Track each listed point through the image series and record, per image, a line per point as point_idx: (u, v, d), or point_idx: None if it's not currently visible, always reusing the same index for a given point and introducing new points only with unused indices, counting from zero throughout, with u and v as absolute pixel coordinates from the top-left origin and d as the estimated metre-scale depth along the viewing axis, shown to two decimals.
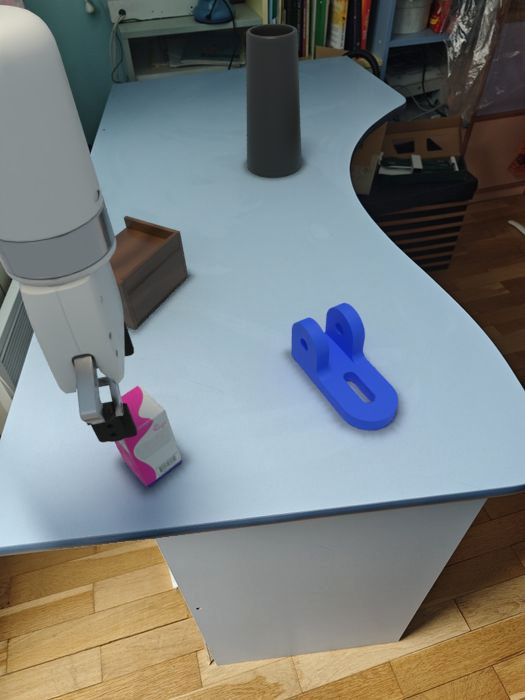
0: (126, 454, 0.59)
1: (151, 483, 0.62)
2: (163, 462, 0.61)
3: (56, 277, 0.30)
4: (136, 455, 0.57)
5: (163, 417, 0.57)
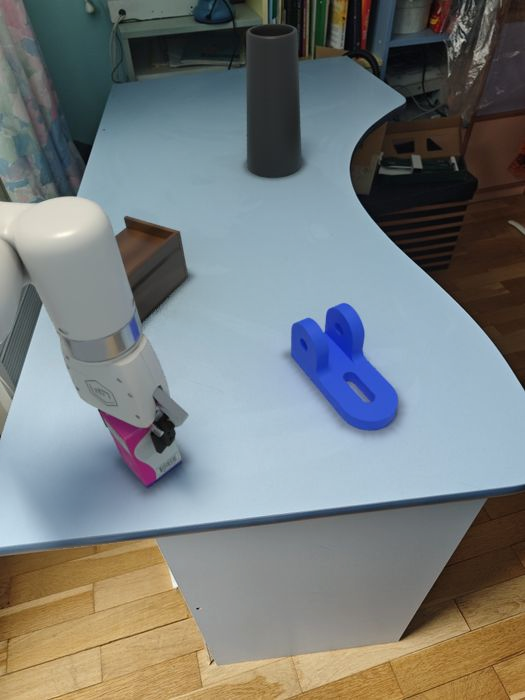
0: (126, 454, 0.59)
1: (151, 483, 0.62)
2: (163, 462, 0.61)
3: (134, 344, 0.46)
4: (137, 456, 0.57)
5: None
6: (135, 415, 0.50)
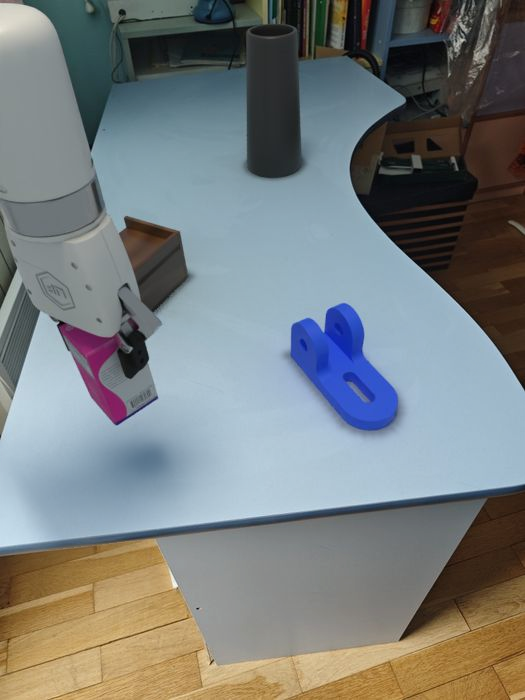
0: (91, 382, 0.50)
1: (121, 420, 0.53)
2: (135, 395, 0.52)
3: (93, 220, 0.37)
4: (102, 380, 0.48)
5: None
6: (96, 318, 0.41)
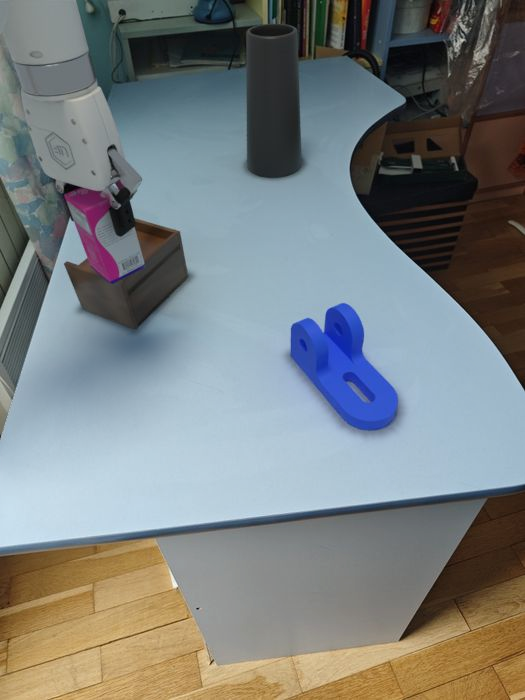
0: (89, 242, 0.62)
1: (114, 280, 0.66)
2: (126, 259, 0.65)
3: (87, 87, 0.50)
4: (98, 237, 0.60)
5: None
6: (91, 171, 0.54)
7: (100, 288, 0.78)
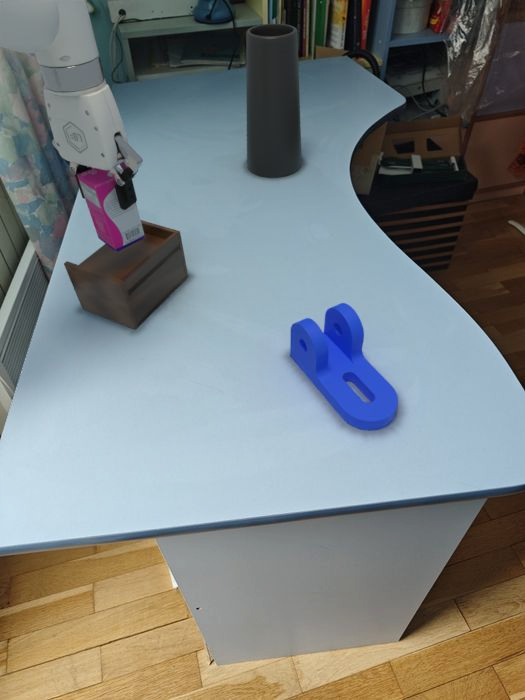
0: (98, 215, 0.75)
1: (119, 248, 0.78)
2: (129, 229, 0.77)
3: (98, 84, 0.62)
4: (105, 210, 0.73)
5: None
6: (101, 154, 0.66)
7: (100, 288, 0.78)
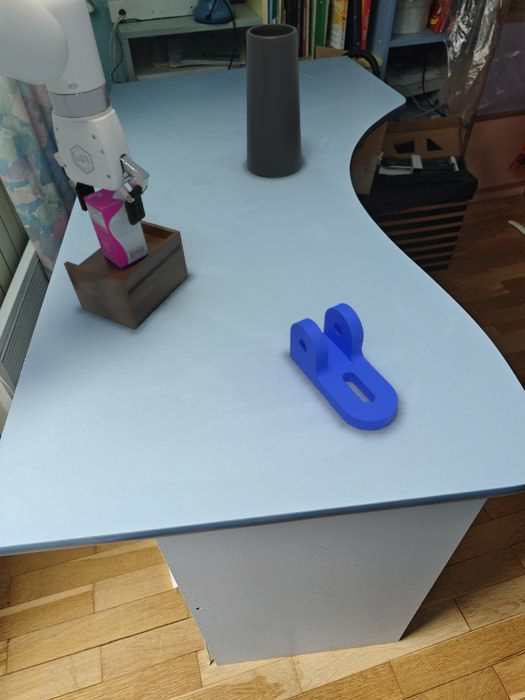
0: (104, 235, 0.77)
1: (124, 266, 0.80)
2: (133, 249, 0.80)
3: (104, 110, 0.64)
4: (111, 230, 0.75)
5: None
6: (107, 175, 0.68)
7: (100, 288, 0.78)
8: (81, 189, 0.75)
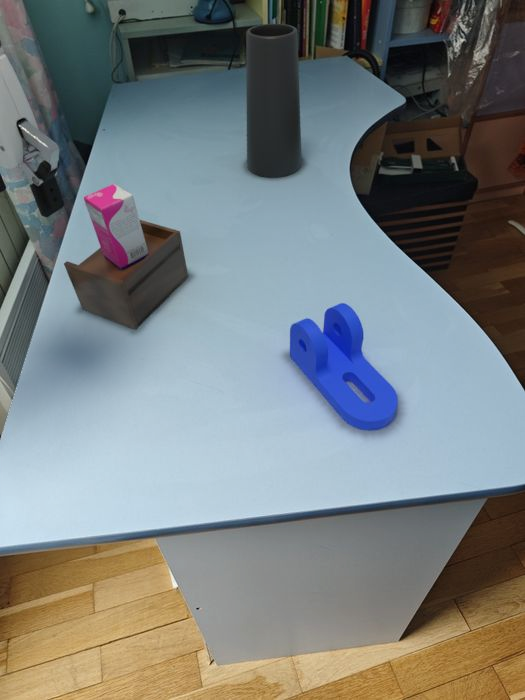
0: (104, 235, 0.77)
1: (124, 266, 0.80)
2: (133, 249, 0.80)
3: None
4: (111, 230, 0.75)
5: (131, 202, 0.75)
6: (0, 147, 0.50)
7: (100, 288, 0.78)
8: None
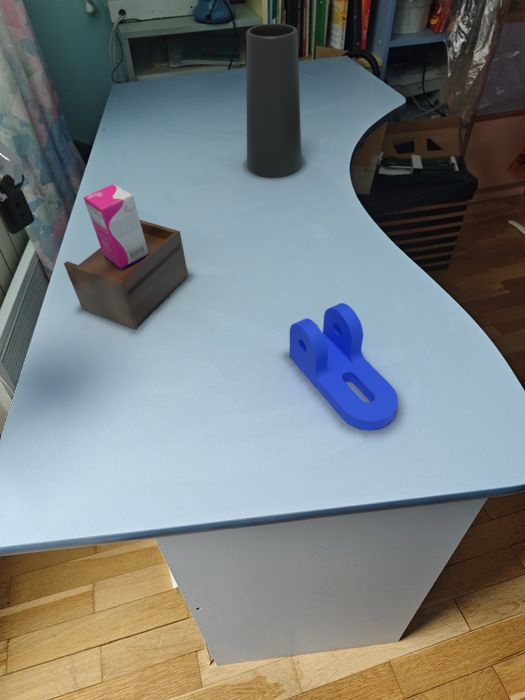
0: (104, 235, 0.77)
1: (124, 266, 0.80)
2: (133, 249, 0.80)
3: None
4: (111, 230, 0.75)
5: (131, 202, 0.75)
6: None
7: (100, 288, 0.78)
8: None
